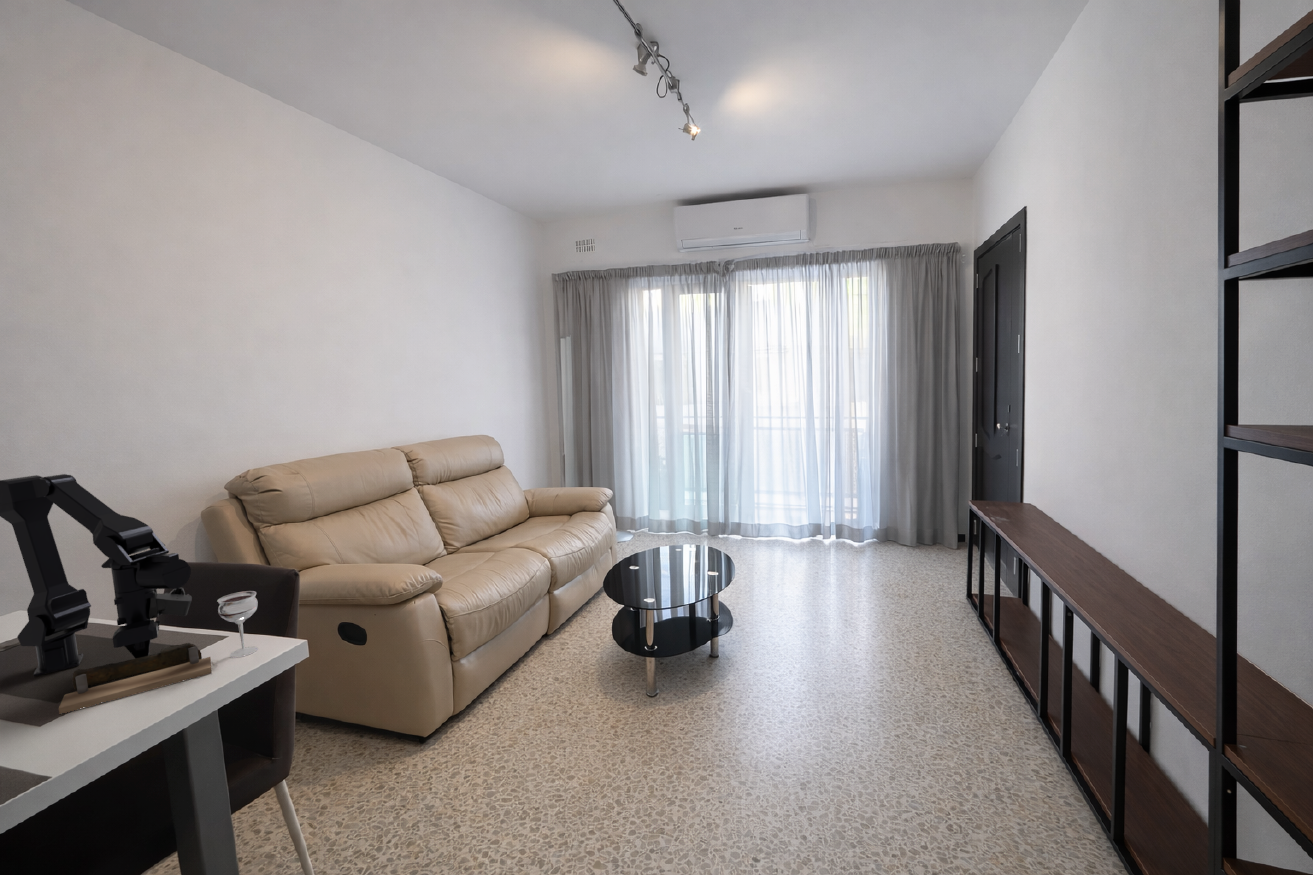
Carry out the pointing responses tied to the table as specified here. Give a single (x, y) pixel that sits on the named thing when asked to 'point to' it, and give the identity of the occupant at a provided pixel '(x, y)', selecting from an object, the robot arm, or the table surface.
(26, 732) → the table surface
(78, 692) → the tool rack
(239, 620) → the wineglass
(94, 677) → the hand tool
